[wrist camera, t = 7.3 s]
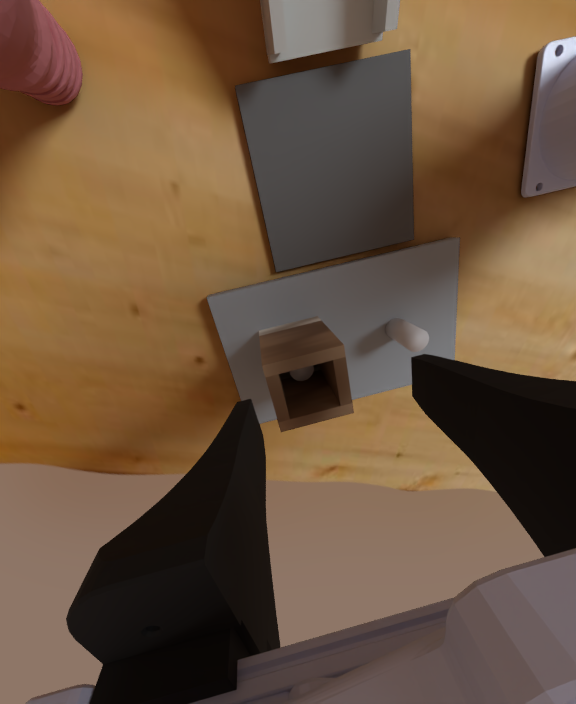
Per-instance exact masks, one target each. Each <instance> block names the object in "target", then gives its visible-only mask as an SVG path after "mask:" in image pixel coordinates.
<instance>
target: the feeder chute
mask: <svg viewBox="0 0 576 704" xmlns="http://www.w3.org/2000/svg"><path fill="white" fill-rule="evenodd" d="M260 4H261V12H262V20H263V27H264V35H265V43H266V51H267V55H268V60H269V63H275V62H280V61H284V60H289V59H294V58H299V57H304V56H309V55H313V54H318V53H323V52H328V51H333V50H338V49H342V48H347V47H352V46H357V45H362V44H367V43H371V42H376V41H381V40H382V35H383V32H384V31H389V30H394V29H397V24H398V15H399V6H400V0H260Z"/></svg>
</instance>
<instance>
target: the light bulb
mask: <svg viewBox="0 0 576 704" xmlns="http://www.w3.org/2000/svg"><path fill="white" fill-rule="evenodd" d="M82 76H83V74H82V68H81V62H80V59H79V56H78V54H77V51H76V49H75V46H74V44H73V43H72V41H71V40H70V38H69V37H68V35H67V34H66V32H65V31H64V30H63V29H62V28H61V27H60V26H59V24H58V23H57V22H56V20H55V19H54V18H53V16H52V15H51V13H50V12H49V11H48V10H47V9H46V8H45V7H44V6H43V5H42V4H41V2H40V1H39V0H0V88H1V89H6V90H11V91H20V92H22V93H24V94H27V95H29V96H32V97H33V98H35V99H36V100H38V101H41V102H43V103H45V104H50V105H63V104H67V103H69V102H71V101H72V100H73V99H74V98H75V97H76V96H77V95H78V93H79V91H80V88H81V86H82Z"/></svg>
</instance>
